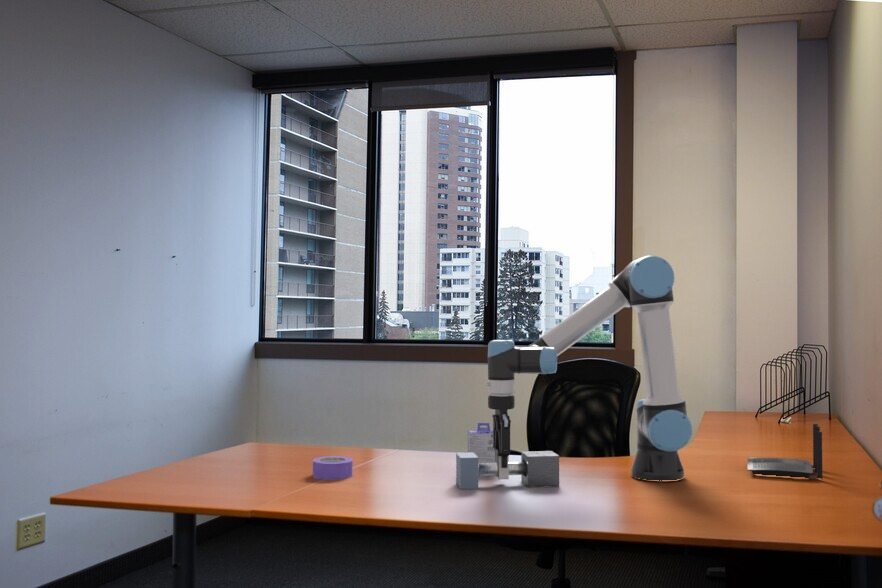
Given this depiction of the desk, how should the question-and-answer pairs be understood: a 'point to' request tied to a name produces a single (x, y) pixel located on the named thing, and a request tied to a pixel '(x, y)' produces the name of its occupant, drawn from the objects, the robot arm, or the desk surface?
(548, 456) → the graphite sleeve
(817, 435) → the router
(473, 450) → the ink cartridge box
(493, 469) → the metal rod with block
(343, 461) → the tape roll
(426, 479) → the desk surface
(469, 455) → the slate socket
